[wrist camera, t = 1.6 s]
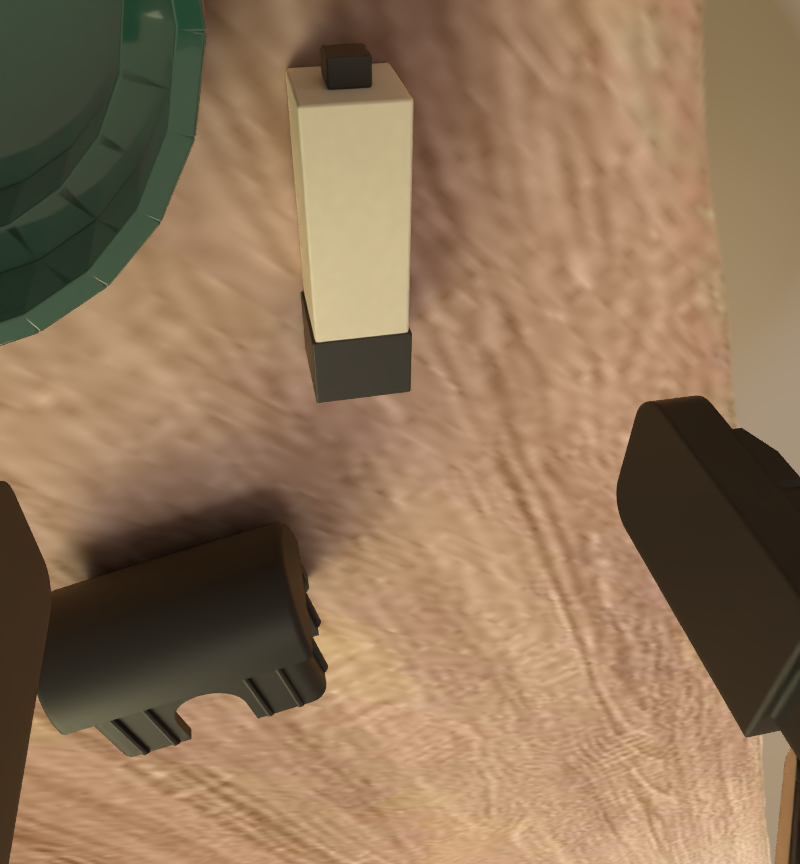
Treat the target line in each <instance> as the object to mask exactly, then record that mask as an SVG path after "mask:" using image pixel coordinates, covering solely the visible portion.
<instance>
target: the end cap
mask: <svg viewBox="0 0 800 864" xmlns="http://www.w3.org/2000/svg"><path fill="white" fill-rule="evenodd" d="M308 589H309V583H308V577H307V574H306V572H305V570H304V568H303V566H302V564H301V562H300V556H299V549H298V542H297V540H296V538H295V536H294V534H293V532H292V531H291V530H290V528H289V527H288V526H287V525H286V524H284V523H280V522H277V523H272V524H269V525H265V526H262V527H259V528H256V529H252V530H249V531H246V532H242V533H239V534H236V535H233V536H229V537H226V538H223V539H220V540H216V541H213V542H210V543H206V544H203V545H200V546H197V547H193V548H190V549H187V550H183V551H180V552H177V553H174V554H170V555H167V556H164V557H160V558H157V559H154V560H151V561H147V562H144V563H141V564H137V565H134V566H131V567H128V568H124V569H121V570H118V571H114V572H111V573H108V574H105V575H101V576H98V577H95V578H91V579H88V580H85V581H82V582H78V583H75V584H72V585H70V586H66V587H63V588H60V589H57V590H54V591H52V592H51V611H50V618H49V624H48V630H47V636H46V642H45V648H44V654H43V660H42V666H41V672H40V678H39V684H38V690H37V695H38V698H39V701H40V703H41V705H42V707H43V709H44V711H45V713H46V715H47V717H48V718H49V720H50V721H51V723H52V724H53V726H54V727H55V728H56V729H57V730H58V731H59V732H60V733H61V734H63V735H66V734H70V733H73V732H76V731H79V730H83V729H86V728H89V727H92V726H95V727H96V728H97V729H98V730H99V731H100V732H101V733H102V734H103V735H104V736H105V737H106V738H108V739H109V740H110V741H111V742H112V743H113V744H114V745H115V746H116V747H117V748H118V749H119V750H121V751H122V752H123V753H124V754H125V755H126V756H130V757H133V756H138V755H141V754H142V755H146V754H148V753H149V752H151V751H154V750H157V749H160V748H164V747H167V746H170V745H173V746H176V745H178V744H179V743H180V742H183V741H186V740H190V739H191V728H190V727H189V726H188V725H187V724H186V723H185V721H184V720H183V719H182V718H181V717H180V716H179V715H178V714H177V712H176V710H177V709H178V707H179V706H180V705H182V704H183V703H184V702H186V701H188V700H190V699H192V698H194V697H197V696H201V695H205V694H211V693H227V694H232V695H235V696H238V697H240V698H242V699H243V700H244V701H245V702H246V703H247V704H248V705H249V707H250V708H251V710H252V711H253V712H254V714H255V715H256V716H257V718H261V717H264V716H268V717H269V716H272V715H274V713H277V712H281V711H284V710H287V709H290V708H294V707H297V706H298V707H302V706H303V705H304V704H307V703H310V702H313V701H315V700H317V699H319V698H320V697H321V696H322V695H323V694H324V692H325V689H326V678H325V672H326V670H327V669H328V665H327V663H326V661H325V659H324V657H323V655H322V654H321V652H320V650H319V648H318V646H317V644H316V643H315V641H314V639H313V637H314V636H317V635H319V633H318V627H319V626H320V624H321V620H320V618H319V616H318V614H317V612H316V610H315V608H314V607H313V605H312V603H311V601H310V599H309V597H308V595H307V593H306V592H307V591H308Z"/></svg>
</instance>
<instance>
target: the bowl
mask: <svg viewBox="0 0 800 864" xmlns="http://www.w3.org/2000/svg"><path fill="white" fill-rule="evenodd" d="M205 44H206V19H205V7H204V0H0V346H1V345H4V344H7V343H10V342H13V341H16V340H19V339H22V338H25V337H28V336H31V335H34V334H37V333H38V332H39V331H42V330H44V329H45V328H47V327H48V326H50V325H51V324H53V323H54V322H56V321H57V320H59V319H60V318H62V317H63V316H65V315H66V314H68V313H69V312H71V311H72V310H74V309H75V308H77V307H78V306H80V305H81V304H83V303H84V302H86V301H87V300H89V299H90V298H92V297H93V296H95V295H96V294H98V293H99V292H101V291H102V290H104V289H105V288H106V287H107V286H109V285H110V284H111V283H112V282H113V281H114V279H115V278H116V277H117V276H118V275H119V273H120V272H121V271H122V270H123V268H124V267H125V266H126V265H127V264H128V262H129V261H130V260H131V259H132V257H133V256H134V255H135V254H136V253H137V251H138V250H139V249H140V248H141V246H142V245H143V244H144V243H145V242H146V240H147V239H148V238H149V237H150V236H151V234H152V233H153V232H154V231H155V229H156V228H157V227H158V226H159V225H160V221H162V219H163V217H164V215H165V212H166V210H167V207H168V205H169V202H170V200H171V197H172V195H173V192H174V190H175V187H176V185H177V183H178V180H179V178H180V175H181V173H182V170H183V168H184V165H185V163H186V160H187V158H188V155H189V153H190V151H191V148H192V146H193V143H194V141H195V135H196V129H197V120H198V110H199V101H200V91H201V82H202V72H203V63H204V53H205Z"/></svg>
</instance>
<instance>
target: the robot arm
mask: <svg viewBox="0 0 800 864" xmlns="http://www.w3.org/2000/svg"><path fill="white" fill-rule="evenodd" d="M617 505H618V510H619V514H620V518H621V520H622V523H623V525H624V527H625V529H626V531H627V533H628V534H629V536H630V538H631V540H632V541H633V543H634V545H635V547H636V548H637V550H638V552H639V553H640V555H641V557H642V559H643V560H644V562H645V564H646V566H647V567H648V569H649V571H650V573H651V574H652V576H653V578H654V579H655V581H656V583H657V585H658V586H659V588H660V590H661V592H662V593H663V595H664V597H665V599H666V600H667V602H668V604H669V605H670V607H671V609H672V611H673V612H674V614H675V616H676V618H677V619H678V621H679V623H680V625H681V626H682V628H683V630H684V631H685V633H686V635H687V637H688V638H689V640H690V642H691V644H692V645H693V647H694V649H695V651H696V652H697V654H698V656H699V657H700V659H701V661H702V663H703V664H704V666H705V668H706V670H707V671H708V673H709V675H710V677H711V678H712V680H713V682H714V683H715V685H716V687H717V689H718V690H719V692H720V694H721V696H722V697H723V699H724V701H725V703H726V704H727V706H728V708H729V710H730V711H731V713H732V715H733V716H734V718H735V720H736V722H737V723H738V725H739V727H740V729H741V730H742V732H743V734H744V736H745V737H751V736H756V735H761V734H766V733H770V732H775V731H780V730H781V732H782V734H783V735H784V737H785V738H786V740H787V742H788V743H789V745H790V747H791V749H790V750H789V752H788V754H787V756H786V759H785V764H784V772H783V783H782V793H781V804H780V813H779V824H778V834H777V845H776V856H775V864H800V477H799V475H798V474H797V473H796V472H795V471H794V470H793V469H792V467H791V466H790V465H789V464H788V463H787V462H786V460H785V459H784V458H783V457H782V456H781V455H780V454H779V452H778V451H776V450H775V449H773V448H772V447H770V446H769V445H767V444H766V443H764V442H763V441H761V440H759V439H758V438H756V437H755V436H753V435H752V434H750V433H749V432H747V431H746V430H744V429H742V428H738V429H732V428H731V427H730V426H729V424H728V423H727V422H726V421H725V420H724V418H723V417H722V416H721V415H720V414H719V412H718V411H717V410H716V409H715V408H714V406H713V405H712V404H711V403H710V402H709V401H708V400H707V399H706V398H704V397H702V396H689V397H681V398H673V399H665V400H657V401H649V402H645V403H643V404H642V405H641V406H640V407H639V409H638V411H637V414H636V417H635V420H634V424H633V428H632V431H631V435H630V439H629V442H628V446H627V450H626V453H625V457H624V460H623V464H622V468H621V471H620V475H619V479H618V483H617ZM50 611H51V588H50V580H49V575H48V570H47V567H46V564H45V561H44V559H43V557H42V554H41V552H40V550H39V548H38V545H37V543H36V541H35V539H34V536H33V534H32V532H31V530H30V527H29V525H28V523H27V521H26V518H25V516H24V514H23V512H22V509H21V507H20V505H19V503H18V500H17V498H16V496H15V494H14V492H13V490H12V488H11V487H10V485H9V484H8V483H7V482H5V481H0V864H9V858H10V852H11V846H12V840H13V834H14V828H15V822H16V816H17V810H18V804H19V798H20V792H21V786H22V780H23V774H24V768H25V762H26V756H27V750H28V744H29V738H30V732H31V726H32V720H33V714H34V708H35V702H36V696H37V690H38V684H39V678H40V672H41V666H42V660H43V654H44V648H45V642H46V636H47V630H48V624H49V618H50Z"/></svg>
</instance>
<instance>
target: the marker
mask: <svg viewBox="0 0 800 864" xmlns="http://www.w3.org/2000/svg"><path fill="white" fill-rule="evenodd" d="M320 53H321V66H317V67H298V68H287V69H286V71H285V73H286V85H287V97H288V109H289V121H290V133H291V145H292V157H293V169H294V181H295V193H296V205H297V217H298V229H299V241H300V253H301V264H302V276H303V288H304V292H301V300H302V312H303V323H304V335H305V347H306V353H307V357H308V362H309V367H310V372H311V377H312V382H313V387H314V392H315V396H316V401H317V403H322V402H330V401H338V400H346V399H354V398H362V397H370V396H378V395H386V394H394V393H402V392H409V391H410V388H411V348H412V333H411V330H410V328H409V291H410V245H411V198H412V152H413V106H414V101H413V98H412V97H411V95H410V94H409V92H408V91H407V89H406V88H405V86H404V85H403V83H402V82H401V80H400V79H399V77H398V76H397V74H396V73H395V71H394V70H393V68H392V67H391V65H390V64H389V63H374V64H372V57H371V55H370V53H369V51H368V50H367V48H366V47H365V45H364V44H362V43H360V44H339V45H322V46H321V48H320Z"/></svg>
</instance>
